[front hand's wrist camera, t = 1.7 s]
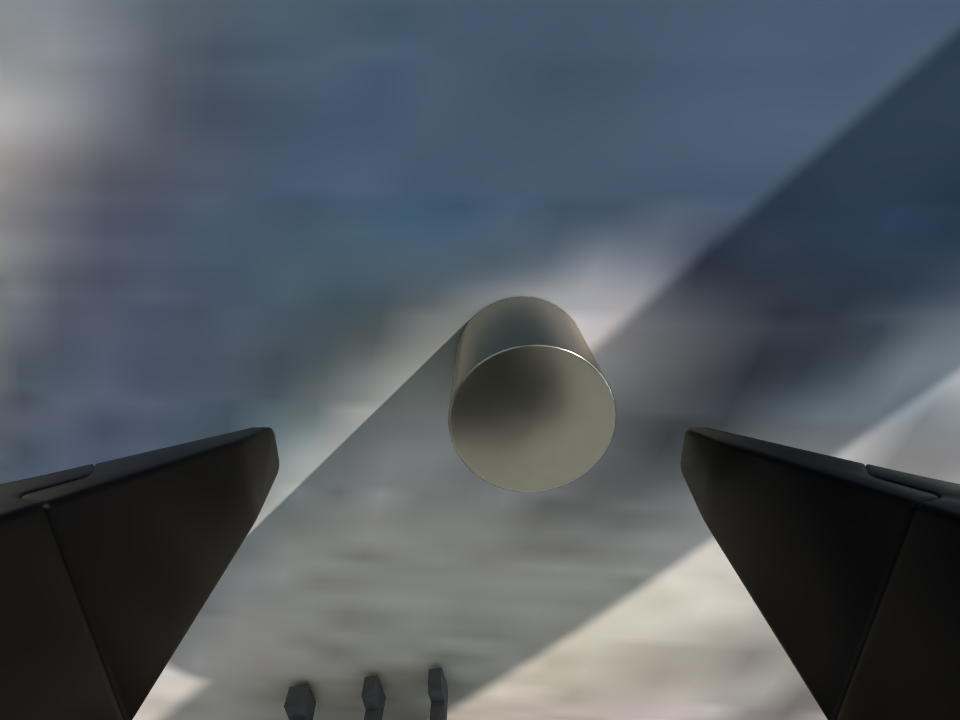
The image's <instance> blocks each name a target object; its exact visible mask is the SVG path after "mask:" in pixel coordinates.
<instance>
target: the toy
mask: <svg viewBox="0 0 960 720" xmlns="http://www.w3.org/2000/svg"><path fill="white" fill-rule="evenodd" d="M428 693H429V696H430V699H431V712H430V720H447V700H448V692H447V684H446V680H445V677H444V674H443V670H442V668H436V669H429V678H428ZM362 699H363V702H364V705H365V708H366V713H365V718H364V720H382V716H383V710H384V704H385V699H386V697H385V695H384V692H383V689H382V687H381V684H380V681H379V678H378V676H373V677H365V680H364V685H363V691H362ZM315 704H316V701H315V699H314V697H313V694H312V692H311V690H310V688H309V685H302V686H294V687H289V691H288V694H287V698H286V702H285V705H284V708H285V710H286V713H287V715H288V717H289V720H313V715H314V710H315Z"/></svg>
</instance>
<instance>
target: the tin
mask: <svg viewBox="0 0 960 720" xmlns="http://www.w3.org/2000/svg"><path fill="white" fill-rule="evenodd" d="M448 423H449V432H450V437H451V441H452V443H453V446H454V448H455V450H456V452H457V454H458V455H459V457H460V458H461V460H462V461H463V462H464V464H465V465H466V466H467V467H468V468H469V469H470V470H471V471H472V472H473V473H475V474H476V475H477V476H479V477H480V478H482V479H483V480H485V481H487V482H489V483H491V484H493V485H495V486H498V487H501V488H504V489H508V490H513V491H520V492H539V491H546V490H551V489H554V488H558V487H561V486H563V485H566V484H568V483H570V482H572V481H574V480H576V479H578V478H579V477H581V476H582V475H584V474H585V473H587V472H588V471H589V470H590V469H591V468H592V467H593V466H594V465H595V464H596V463H597V462H598V461H599V460H600V459H601V457H602V456H603V454H604V453H605V452H606V450H607V448H608V446H609V444H610V442H611V439H612V436H613V433H614V429H615V424H616V407H615V401H614V397H613V394H612V391H611V389H610V386H609V384H608V383H607V381H606V379H605V377H604V375H603V373H602V371H601V369H600V368H599V366H598V364H597V362H596V360H595V358H594V356H593V354H592V353H591V351H590V349H589V347H588V345H587V343H586V341H585V340H584V338H583V336H582V334H581V332H580V330H579V328H578V327H577V325H576V324H575V322H574V321H573V320H572V318H571V317H570V316H569V315H568V314H567V313H566V312H565V311H563V310H562V309H560V308H559V307H558V306H556V305H554V304H552V303H550V302H548V301H545V300H542V299H538V298H533V297H512V298H506V299H503V300H499V301H497V302H494V303H492V304H490V305H488V306H487V307H485V308H483V309H482V310H480V311H479V312H478V313H477V314H476V315H475V316H474V317H473V318H472V319H471V320H470V321H469V322H468V324H467V325H466V326H465V328H464V329H463V331H462V333H461V335H460V338H459V341H458V344H457V348H456V355H455V364H454V372H453V381H452V389H451V398H450V407H449V418H448Z"/></svg>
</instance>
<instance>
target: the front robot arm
mask: <svg viewBox="0 0 960 720" xmlns="http://www.w3.org/2000/svg"><path fill="white" fill-rule="evenodd" d="M278 470H279V457H278V451H277V445H276V439H275V434H274V431H273V430H272V429H271V428H269V427H262V428H249V429H245V430H241V431H236V432H232V433H228V434H223V435H219V436H215V437H210V438H206V439H202V440H197V441H193V442H189V443H184V444H180V445H176V446H171V447H167V448H163V449H158V450H154V451H150V452H145V453H141V454H137V455H132V456H128V457H124V458H120V459H115V460H111V461H107V462H102V463H98V464H96V465H95V466H94V465H92V464H91V465H86V466H82V467H77V468H73V469H69V470H64V471H60V472H55V473H51V474H46V475H42V476H37V477H32V478H28V479H23V480H18V481H14V482H9V483H4V484H0V720H132V719H133V718H134V716H135V714H136V713H137V711H138V710H139V708H140V706H141V705H142V703H143V702H144V700H145V698H146V697H147V695H148V694H149V692H150V690H151V689H152V687H153V685H154V684H155V682H156V681H157V679H158V677H159V676H160V674H161V673H162V671H163V669H164V668H165V666H166V665H167V663H168V661H169V660H170V658H171V657H172V655H173V653H174V652H175V650H176V649H177V647H178V645H179V644H180V642H181V640H182V639H183V637H184V636H185V634H186V632H187V631H188V629H189V628H190V626H191V624H192V623H193V621H194V620H195V618H196V616H197V615H198V613H199V612H200V610H201V608H202V607H203V605H204V604H205V602H206V600H207V599H208V597H209V595H210V594H211V592H212V591H213V589H214V587H215V586H216V584H217V583H218V581H219V579H220V578H221V576H222V575H223V573H224V571H225V570H226V568H227V567H228V565H229V563H230V562H231V560H232V559H233V557H234V555H235V554H236V552H237V550H238V549H239V547H240V546H241V544H242V542H243V541H244V539H245V538H246V536H247V534H248V533H249V531H250V530H251V528H252V526H253V524H254V523H255V521H256V519H257V517H258V515H259V513H260V511H261V509H262V507H263V504H264V502H265V500H266V498H267V496H268V493H269V491H270V489H271V487H272V485H273V482H274V480H275V478H276V476H277V473H278ZM681 470H682V473H683V476H684V478H685V480H686V482H687V485H688V487H689V489H690V491H691V493H692V496H693V498H694V500H695V502H696V504H697V507H698V509H699V511H700V513H701V515H702V517H703V519H704V521H705V523H706V524H707V526H708V528H709V530H710V531H711V533H712V534H713V536H714V538H715V539H716V541H717V542H718V544H719V546H720V547H721V549H722V550H723V552H724V554H725V555H726V557H727V558H728V560H729V562H730V563H731V565H732V566H733V568H734V570H735V571H736V573H737V575H738V576H739V578H740V579H741V581H742V583H743V584H744V586H745V587H746V589H747V591H748V592H749V594H750V595H751V597H752V599H753V600H754V602H755V603H756V605H757V607H758V608H759V610H760V611H761V613H762V615H763V616H764V618H765V620H766V621H767V623H768V624H769V626H770V628H771V629H772V631H773V632H774V634H775V636H776V637H777V639H778V640H779V642H780V644H781V645H782V647H783V648H784V650H785V652H786V653H787V655H788V657H789V658H790V660H791V661H792V663H793V665H794V666H795V668H796V669H797V671H798V673H799V674H800V676H801V677H802V679H803V681H804V682H805V684H806V685H807V687H808V689H809V690H810V692H811V693H812V695H813V697H814V698H815V700H816V702H817V703H818V705H819V706H820V708H821V710H822V711H823V713H824V714H825V716H826V718H827V719H828V720H960V484H956V483H951V482H946V481H942V480H937V479H932V478H928V477H923V476H918V475H914V474H909V473H905V472H900V471H896V470H891V469H887V468H883V467H878V466H874V465H869V464H868V465H866V466H865V465H864V464H862V463H858V462H854V461H849V460H845V459H841V458H836V457H832V456H828V455H823V454H819V453H815V452H810V451H806V450H802V449H797V448H793V447H789V446H784V445H780V444H776V443H771V442H767V441H763V440H758V439H754V438H750V437H745V436H741V435H737V434H732V433H728V432H724V431H719V430H715V429H711V428H698V427H691V428H689V429H688V430H687V431H686V434H685V439H684V445H683V451H682V457H681Z"/></svg>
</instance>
